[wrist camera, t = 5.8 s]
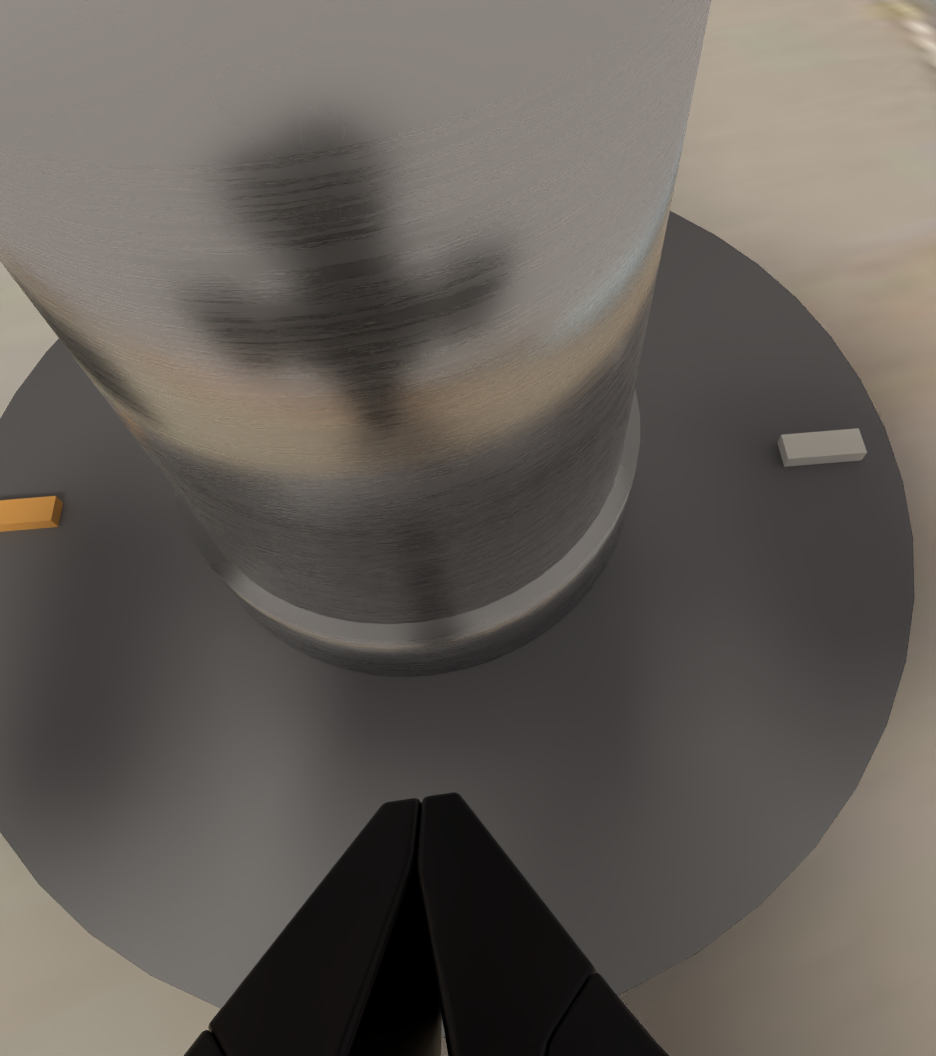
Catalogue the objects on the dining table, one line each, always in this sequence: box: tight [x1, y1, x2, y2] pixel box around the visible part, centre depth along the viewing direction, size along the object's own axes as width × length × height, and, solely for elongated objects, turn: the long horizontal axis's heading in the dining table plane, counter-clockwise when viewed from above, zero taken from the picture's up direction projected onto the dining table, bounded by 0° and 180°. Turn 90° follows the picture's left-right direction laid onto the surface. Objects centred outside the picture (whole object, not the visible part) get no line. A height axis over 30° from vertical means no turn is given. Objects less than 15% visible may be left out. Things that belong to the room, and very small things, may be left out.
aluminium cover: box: [0, 0, 711, 677], centre depth 12 cm, size 9×9×12 cm
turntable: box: [0, 211, 914, 1037], centre depth 17 cm, size 20×20×1 cm
